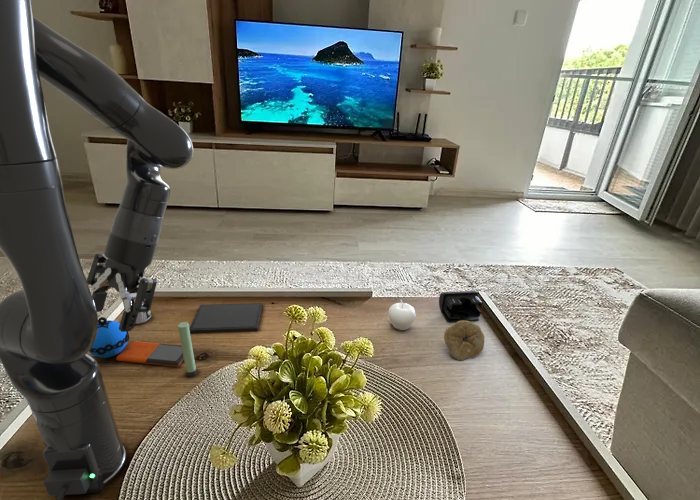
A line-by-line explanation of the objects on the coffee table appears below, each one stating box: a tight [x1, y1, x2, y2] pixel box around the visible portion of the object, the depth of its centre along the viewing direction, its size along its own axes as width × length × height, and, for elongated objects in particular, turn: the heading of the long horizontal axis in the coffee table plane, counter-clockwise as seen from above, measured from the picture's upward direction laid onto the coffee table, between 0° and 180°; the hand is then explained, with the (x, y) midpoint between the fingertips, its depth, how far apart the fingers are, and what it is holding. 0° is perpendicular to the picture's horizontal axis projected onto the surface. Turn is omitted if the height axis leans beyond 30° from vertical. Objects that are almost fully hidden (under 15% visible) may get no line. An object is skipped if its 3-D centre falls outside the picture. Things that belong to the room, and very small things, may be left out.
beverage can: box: [122, 290, 152, 325], centre depth 103 cm, size 6×6×12 cm
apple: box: [388, 299, 417, 331], centre depth 104 cm, size 7×7×8 cm
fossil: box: [443, 321, 486, 361], centre depth 97 cm, size 9×4×10 cm
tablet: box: [189, 302, 263, 334], centre depth 106 cm, size 12×17×1 cm
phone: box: [115, 340, 184, 368], centre depth 92 cm, size 6×1×15 cm
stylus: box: [177, 321, 197, 378], centre depth 84 cm, size 2×2×13 cm
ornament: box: [88, 316, 130, 359], centre depth 90 cm, size 9×9×10 cm
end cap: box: [438, 290, 483, 324], centre depth 110 cm, size 10×7×7 cm
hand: (109, 320), depth 71 cm, fingers open, 8 cm apart
